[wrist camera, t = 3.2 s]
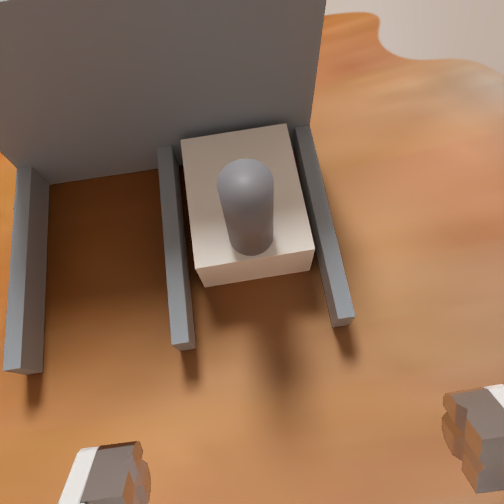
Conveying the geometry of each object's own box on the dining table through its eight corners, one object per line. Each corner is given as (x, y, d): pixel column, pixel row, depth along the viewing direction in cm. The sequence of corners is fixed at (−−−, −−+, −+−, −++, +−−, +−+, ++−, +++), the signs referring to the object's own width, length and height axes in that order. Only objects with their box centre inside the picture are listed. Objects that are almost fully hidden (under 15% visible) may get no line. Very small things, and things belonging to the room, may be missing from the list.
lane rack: (26, 374, 26) (-216, 333, 13) (36, 172, 32) (-129, 0, 18) (348, 325, 26) (423, 236, 13) (303, 133, 32) (326, -63, 19)
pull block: (205, 288, 28) (171, 224, 19) (191, 172, 31) (157, 69, 22) (309, 271, 28) (328, 199, 19) (284, 158, 31) (290, 48, 22)
